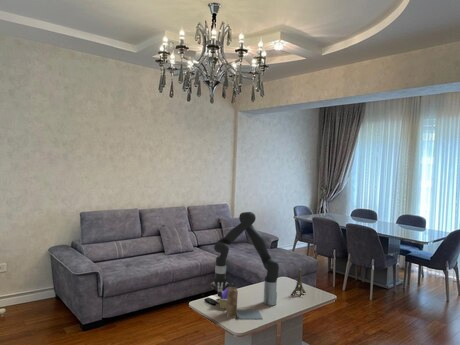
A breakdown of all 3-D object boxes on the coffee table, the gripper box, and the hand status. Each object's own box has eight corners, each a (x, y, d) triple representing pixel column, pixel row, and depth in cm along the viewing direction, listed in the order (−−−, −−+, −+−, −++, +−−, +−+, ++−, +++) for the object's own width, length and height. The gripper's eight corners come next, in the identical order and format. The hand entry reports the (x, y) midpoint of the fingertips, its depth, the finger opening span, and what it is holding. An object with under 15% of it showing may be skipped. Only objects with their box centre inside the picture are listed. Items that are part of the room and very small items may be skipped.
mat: (258, 310, 248) (258, 308, 248) (262, 319, 234) (262, 316, 234) (234, 310, 246) (234, 307, 246) (237, 319, 232) (237, 316, 232)
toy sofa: (230, 309, 248) (231, 295, 247) (219, 308, 249) (219, 294, 249) (235, 298, 268) (236, 285, 268) (224, 297, 270) (225, 284, 270)
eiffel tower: (290, 294, 282) (291, 264, 282) (295, 291, 291) (296, 261, 291) (302, 297, 277) (304, 266, 276) (307, 294, 286) (308, 264, 285)
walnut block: (234, 312, 243) (236, 287, 243) (236, 317, 235) (237, 291, 235) (226, 312, 242) (227, 286, 242) (227, 317, 234) (228, 291, 234)
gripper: (229, 270, 242) (228, 294, 242) (210, 269, 240) (209, 294, 241) (230, 273, 234) (229, 298, 235) (211, 273, 233) (210, 298, 233)
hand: (219, 296), depth 238 cm, fingers closed
